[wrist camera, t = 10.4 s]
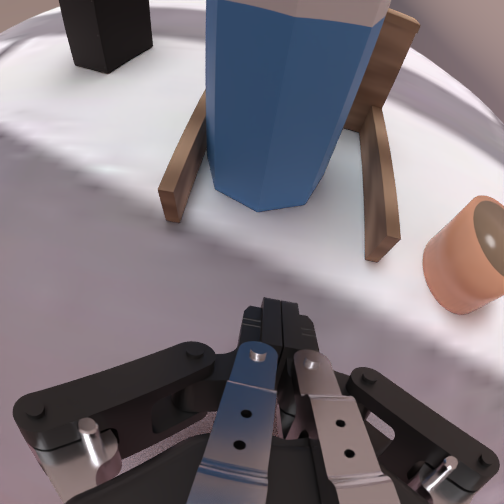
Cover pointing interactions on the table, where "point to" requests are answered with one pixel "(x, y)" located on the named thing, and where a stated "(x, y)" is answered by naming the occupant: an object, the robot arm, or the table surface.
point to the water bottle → (282, 91)
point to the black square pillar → (106, 31)
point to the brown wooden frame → (359, 119)
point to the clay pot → (468, 258)
